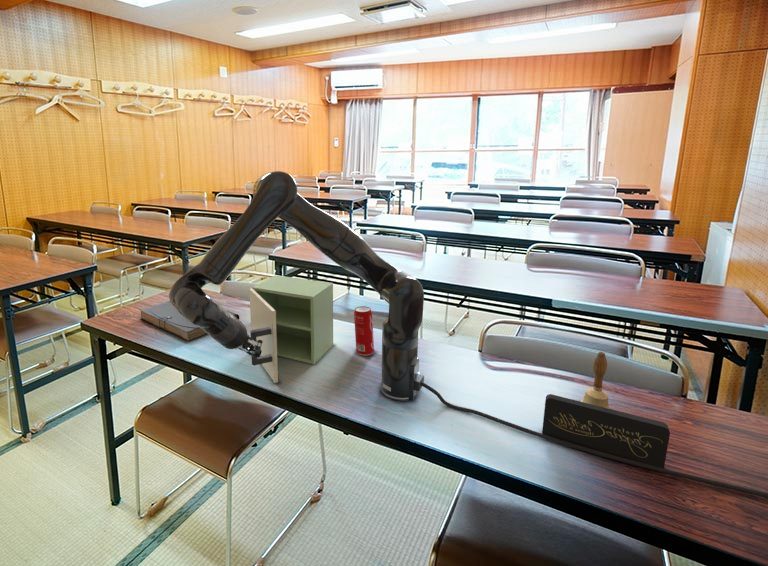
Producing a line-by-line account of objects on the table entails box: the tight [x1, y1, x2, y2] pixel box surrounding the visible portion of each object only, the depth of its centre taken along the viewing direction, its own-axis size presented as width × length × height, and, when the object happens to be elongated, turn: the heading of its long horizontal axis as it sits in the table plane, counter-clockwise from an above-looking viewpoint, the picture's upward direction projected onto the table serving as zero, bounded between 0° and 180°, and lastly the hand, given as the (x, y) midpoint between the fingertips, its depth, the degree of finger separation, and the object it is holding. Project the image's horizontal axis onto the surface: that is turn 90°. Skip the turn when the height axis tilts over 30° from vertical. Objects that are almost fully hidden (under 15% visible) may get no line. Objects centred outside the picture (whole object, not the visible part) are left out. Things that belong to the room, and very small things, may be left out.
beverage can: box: [353, 305, 375, 357], centre depth 138 cm, size 6×6×15 cm
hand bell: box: [579, 351, 611, 409], centre depth 103 cm, size 8×8×16 cm
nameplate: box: [541, 393, 671, 473], centre depth 91 cm, size 21×2×10 cm, turn 56°
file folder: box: [139, 300, 240, 342], centre depth 169 cm, size 33×4×24 cm
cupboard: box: [251, 274, 334, 365], centre depth 141 cm, size 15×22×22 cm
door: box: [248, 287, 279, 384], centre depth 129 cm, size 7×22×22 cm, turn 22°
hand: (255, 353), depth 121 cm, fingers closed on door, 2 cm apart
